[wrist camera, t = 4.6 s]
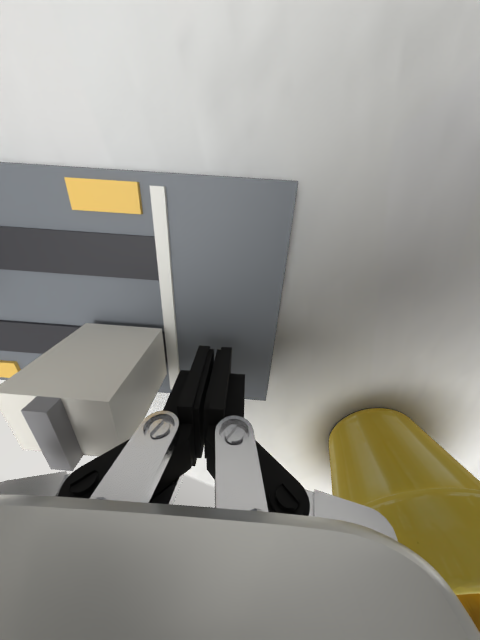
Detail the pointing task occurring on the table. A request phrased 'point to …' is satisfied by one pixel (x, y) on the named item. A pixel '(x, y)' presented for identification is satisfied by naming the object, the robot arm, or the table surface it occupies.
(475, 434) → the table surface
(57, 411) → the switch
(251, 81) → the table surface
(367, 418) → the plant pot
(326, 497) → the robot arm
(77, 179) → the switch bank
